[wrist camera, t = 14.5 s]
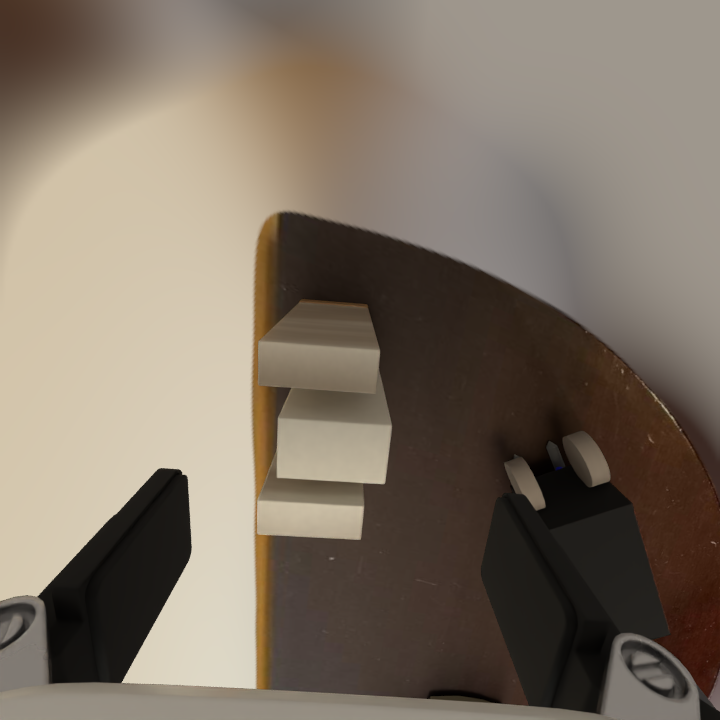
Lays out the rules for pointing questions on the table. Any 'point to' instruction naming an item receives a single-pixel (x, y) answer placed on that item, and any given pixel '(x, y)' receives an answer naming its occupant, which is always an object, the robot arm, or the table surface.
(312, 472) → the beige rectangular block
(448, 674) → the table surface
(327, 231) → the table surface
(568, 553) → the figurine character
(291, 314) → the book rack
